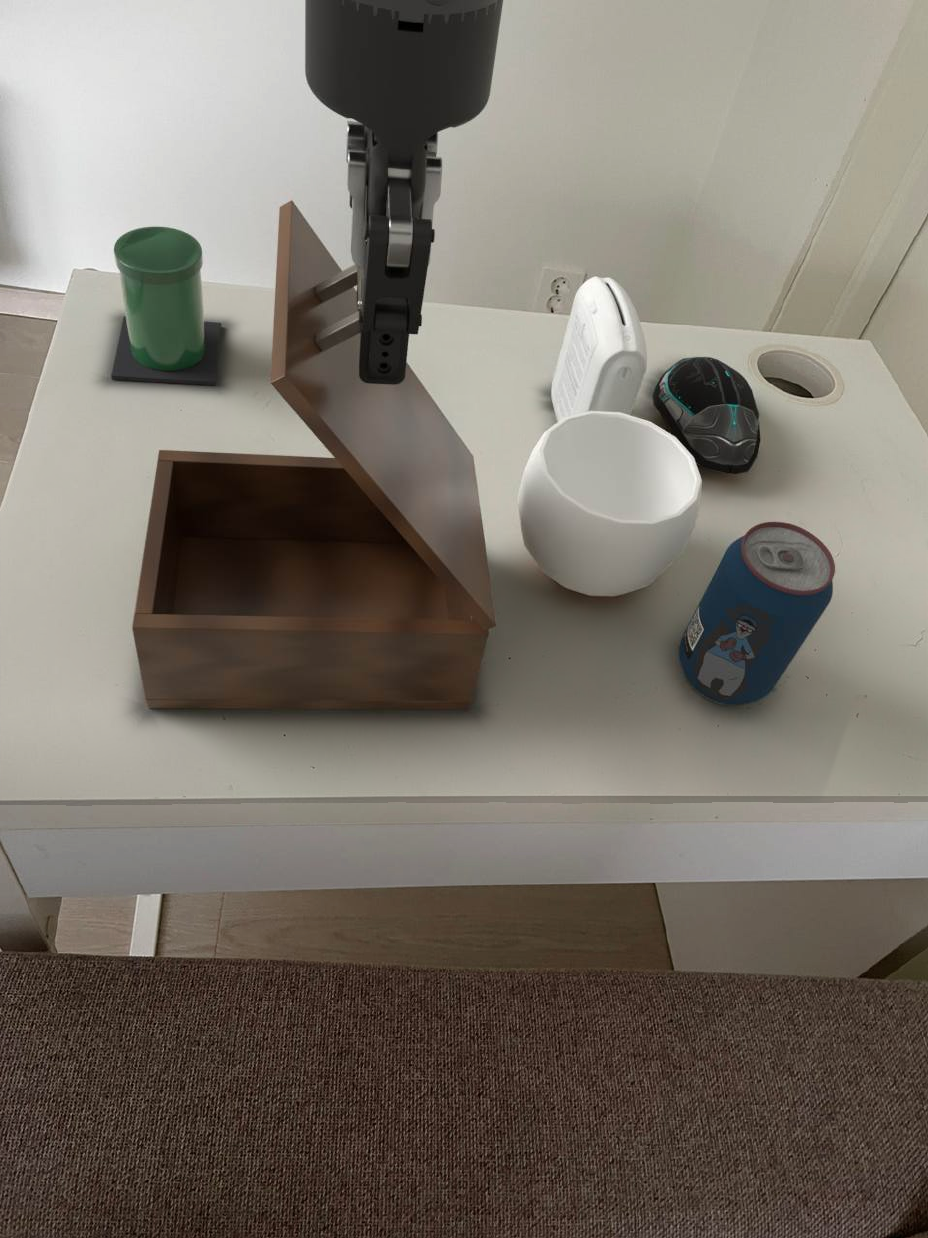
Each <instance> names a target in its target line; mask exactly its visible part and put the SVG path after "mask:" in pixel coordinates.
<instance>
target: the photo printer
mask: <svg viewBox="0 0 928 1238" xmlns="http://www.w3.org/2000/svg"><path fill="white" fill-rule="evenodd" d="M565 329H566V330H565V333H564V337H563V341H562V345H561V348H560V352H559V356H558V359H557V363H556V367H555V371H554V374H553V378H552V383H551V391H550V394H551V395H550V396H551V402H552V406H553V410H554V414H555V419H556V421H557V422H559V421H560V420H561V419H563V418H564V417H568V416H572V415H576V414H580V413H584V412H588V411H603V412H621V413H624V414H627V415H630V416H632V413H633V409H634V406H635V404H636V401H637V398H638V395H639V393H640V389H641V387H642V383H643V381H644V377H645V375H646V373H647V367H648V351H647V344H646V338H645V334H644V331H643V327H642V325H641V321H640V318H639V315H638V312H637V310H636V308H635V305H634V304H633V301H632V299H631V297H630V296H629V294H628V293H627V292H626V290H625V289H624V288H623V287H622V286H621V284H619V283H618V282H617V281H616V280H614V279H613V278H611V277H610V276H608V277H599V276H595V275H594V276H592V277H591V278H589V279H587V280H585V282H583V283H582V284H581V285H580V287H579V288H578V290H577V291H576V293H575V296H574V299H573V303H572V306H571V310H570V314H569V318H568V322H567V326H566V328H565ZM557 422H556V423H557Z"/></svg>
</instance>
